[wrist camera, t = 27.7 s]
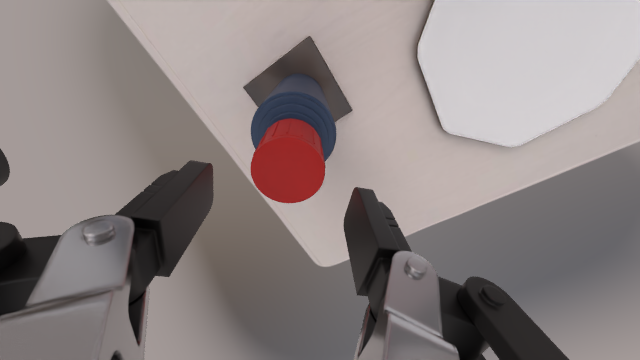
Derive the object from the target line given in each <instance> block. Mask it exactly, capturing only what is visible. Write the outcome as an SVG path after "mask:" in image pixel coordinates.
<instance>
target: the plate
mask: <svg viewBox="0 0 640 360" xmlns="http://www.w3.org/2000/svg"><path fill="white" fill-rule="evenodd" d="M639 59H640V0H434V2H433V4H432V7H431V10H430V12H429V15H428V18H427V20H426V23H425V26H424V28H423V31H422V34H421V36H420V39H419V42H418V44H417V60H418V63H419V65H420V68H421V71H422V74H423V76H424V79H425V82H426V85H427V88H428V90H429V93H430V96H431V99H432V101H433V104H434V107H435V110H436V113H437V115H438V118H439V121H440V124H441V126H442V128H443V129H444V130H445V131H446V132H448V133H449V134H453V135H458V136H462V137H467V138H471V139H475V140H480V141H484V142H488V143H493V144H497V145H501V146H506V147H516V146H520V145H522V144H524V143H526V142H528V141H530V140H533V139H535V138H537V137H539V136H541V135H543V134H545V133H547V132H549V131H551V130H553V129H555V128H557V127H559V126H561V125H563V124H565V123H567V122H569V121H571V120H573V119H575V118H577V117H579V116H581V115H583V114H585V113H587V112H589V111H591V110H593V109H595V108H597V107H598V106H600V105H601V104H602V103H603V102H604V101H606V100H607V99H608V98H609V96H610V95H611V94H612V93H613V91H614V90H615V89H616V88H617V86H618V85H619V84H620V83H621V81H622V80H623V79H624V78H625V76H626V75H627V74H628V73H629V71H630V70H631V69H632V68H633V66H634V65H635V64H636V63H637V61H638V60H639Z"/></svg>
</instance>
